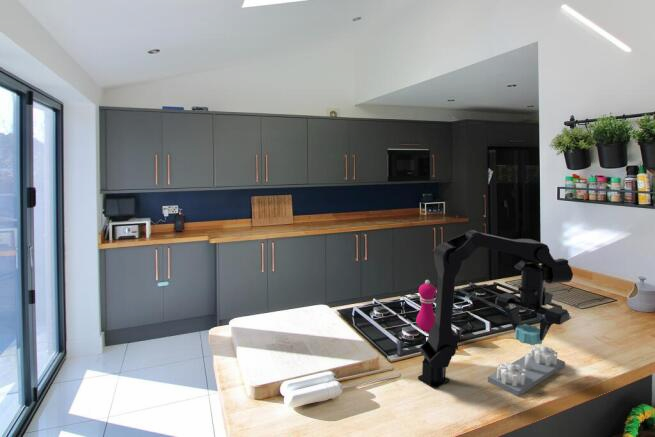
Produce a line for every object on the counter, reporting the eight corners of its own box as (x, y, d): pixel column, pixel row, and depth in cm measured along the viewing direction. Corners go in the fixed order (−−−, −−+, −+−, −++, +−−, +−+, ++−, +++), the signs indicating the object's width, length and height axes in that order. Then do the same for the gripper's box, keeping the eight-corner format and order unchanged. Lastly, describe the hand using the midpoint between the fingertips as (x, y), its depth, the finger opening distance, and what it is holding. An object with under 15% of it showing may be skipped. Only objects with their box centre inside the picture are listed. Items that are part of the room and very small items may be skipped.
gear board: (518, 396, 107) (519, 377, 106) (487, 381, 114) (488, 363, 113) (564, 366, 122) (566, 349, 121) (535, 354, 129) (536, 338, 128)
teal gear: (534, 347, 112) (535, 337, 111) (510, 338, 118) (510, 328, 117) (547, 340, 116) (548, 330, 116) (523, 331, 122) (523, 322, 121)
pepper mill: (436, 338, 141) (438, 283, 138) (416, 336, 143) (417, 282, 139) (435, 329, 148) (437, 277, 145) (415, 327, 150) (417, 276, 146)
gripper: (580, 286, 111) (576, 339, 114) (515, 271, 126) (513, 318, 129) (561, 295, 105) (557, 351, 107) (495, 278, 120) (493, 327, 122)
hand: (528, 335), depth 117 cm, fingers closed on teal gear, 7 cm apart
